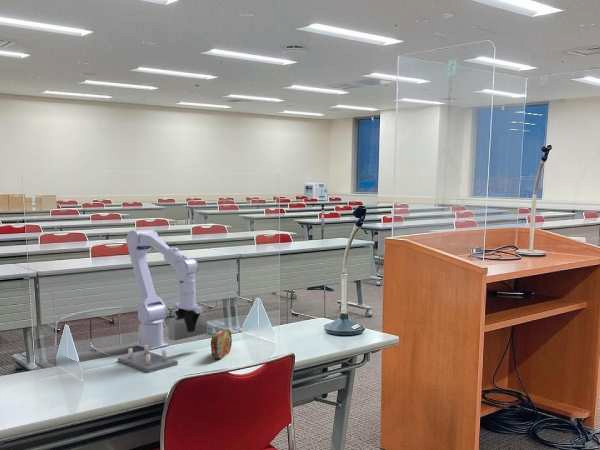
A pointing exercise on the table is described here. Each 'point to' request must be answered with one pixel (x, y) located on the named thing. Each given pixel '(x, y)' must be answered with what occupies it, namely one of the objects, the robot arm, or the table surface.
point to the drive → (186, 327)
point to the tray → (148, 360)
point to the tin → (221, 344)
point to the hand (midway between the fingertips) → (188, 330)
